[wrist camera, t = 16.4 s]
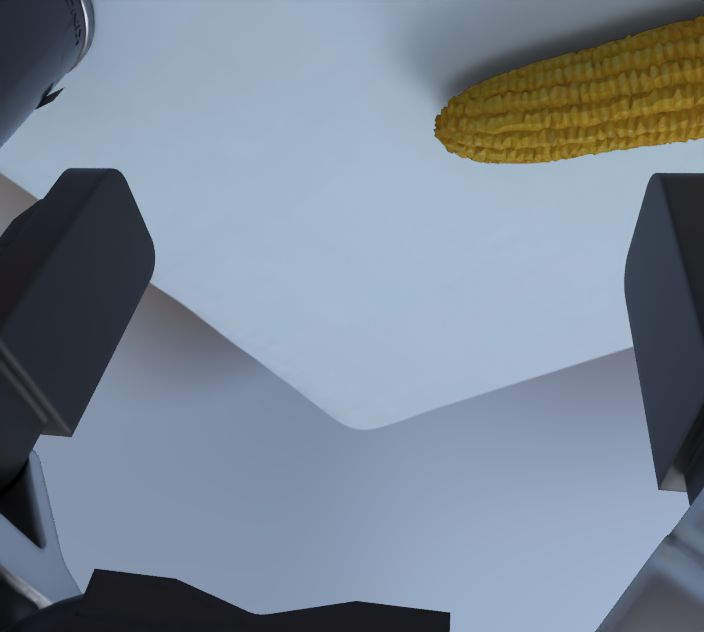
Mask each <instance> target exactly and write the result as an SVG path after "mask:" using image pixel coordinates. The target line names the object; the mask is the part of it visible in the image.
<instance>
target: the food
mask: <svg viewBox="0 0 704 632" xmlns="http://www.w3.org/2000/svg"><path fill="white" fill-rule="evenodd" d="M435 122H436V124H435V126H436V129H434V131H435V133H436V134H435V135H434V136H435V137H436V138H437V139H439V140H440V141H441V143H442V144H443V145H444V146H445V147H446V149H447V151H448V152H450V153H454V152H455V154H457V155H458V156H460V157H461V158H467V157H468V158H469V159H471V160H473V161H477V162H484V163H488V164H489V163H497V164H499V163H540V162H550V161H551V160H553V161H555V162H556V161H558V160H560V159H570V158H575V157H579V156H583V155H586V154H594V155H596V154H599V153H602V152H609V151H613V150H618V149H619V150H628V149H630V148H638V147H640V146H655V145H662V144H666V143H669V144H671V143H672V142H687V140H689V139H692V140H697V139H699V138H704V16H698V17H697V18H696V19H695V20H689V21H682V22H676V23H672V24H669V25H665V26H662V27H658V28H655V29H651V30H648V31H644V32H641V33H639V34H637V35H634V36H630V35H628V36H627V37H626V38H625V39H621V40H614V41H612V42H609V43H606V44H603V45H601V46H599V47H596V48H593V47H592V48H589V49H584V50H580V51H578V52H577V53H572V52H570V53H568V54H565V55H561V56H557V57H554V58H551V59H546V60H542V61H539V62H536V63H533V64H530V65H527V66H524V67H521V68H519V69H516V70H512V71H511V72H510V73H506V72H504V73H503V74H501V75H497V76H494V77H492V78H490V79H489V80H486V81H483V82H480V83H479V84H477V85H475V86H473V87H469V88H468V89H467V90H465V91H464V92H463V93H462V94H461V95H458V96H457V97H455V96H453V97H452V98H451V99H450V100H449V101H448V107H444V109H441V115H437V116H436V118H435Z"/></svg>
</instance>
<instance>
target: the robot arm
mask: <svg viewBox="0 0 704 632" xmlns="http://www.w3.org/2000/svg"><path fill="white" fill-rule="evenodd" d="M93 34H94V13H93V7H92V3H91V0H0V148H1V147H2V146H3V145H4V144H5V143H6V142H7V140H8V139H9V138H10V137H11V136H12V135H13V134H14V132H15V131H16V130H17V129H18V128H19V127H20V126H21V125H22V123H23V122H24V121H25V120H26V119H27V118H28V117H29V115H30V114H31V113H32V112H33V111H34V110H36V109H38V108H40V107H42V106H44V105H46V104H48V103H50V102H52V101H53V100H54V99H55V98H56V97H57V96H58V95H59V93H60V92H61V91H62V90H63V89H64V88H65V87H64V88H62V89H60V90H58V91H56V92H54V93H52V94H50V95H48V94H49V93H50V92H51V91H52V90H53V88H54V87H55V86H56V85H57V84H58V83H59V82H60V80H61V79H62V78H63V77H64V76H65V75H66V74H67V73H68V72H70V71H71V70H72V69H73V68H74V67H75V66H76V65H77V64H78V63H79V62H80V61H81V60H82V58H83V57H84V56H85V55H86V53H87V51H88V50H89V48H90V45H91V42H92V39H93ZM47 95H48V96H47ZM154 266H155V250H154V245H153V241H152V239H151V236H150V234H149V232H148V229H147V227H146V225H145V222H144V220H143V218H142V216H141V213H140V211H139V209H138V206H137V204H136V202H135V199H134V197H133V195H132V192H131V190H130V188H129V186H128V183H127V181H126V179H125V177H124V176H123V174H122V173H121V172H120V171H118V170H117V169H111V168H70V169H67V170H66V171H64V172H63V173H62V174H61V176H60V177H59V178H58V180H57V181H56V182H55V184H54V185H53V186H52V188H51V189H50V191H49V192H48V193H47V195H46V196H45V197H44V199H40V200H39V201H38V202H36V203H35V204H34V205H33V206H31V207H30V208H28V209H27V210H26V211H24V212H23V213H22V214H20V215H19V216H18V217H17V218H15V219H14V220H13V221H12V222H11V224H10V225H9V226H8V228H7V229H6V230H5V232H4V233H3V234H2V235H1V237H0V632H450V613H449V612H441V611H432V610H424V609H415V608H408V607H400V606H392V605H384V604H376V603H367V602H360V601H354V602H347V603H340V604H333V605H327V606H321V607H314V608H307V609H301V610H293V611H287V612H280V613H273V614H265V615H259V614H253V613H250V612H247V611H246V610H243V609H241V608H239V607H237V606H234V605H232V604H230V603H228V602H226V601H224V600H221V599H219V598H217V597H215V596H212V595H210V594H208V593H206V592H204V591H201V590H199V589H197V588H195V587H193V586H191V585H188V584H186V583H184V582H182V581H180V580H177V579H173V578H166V577H157V576H149V575H141V574H133V573H125V572H116V571H109V570H101V569H94V572H93V574H92V577H91V579H90V581H89V584H88V587H87V589H86V591H85V594H82V593H81V591H80V589H79V587H78V585H77V583H76V582H75V580H74V578H73V577H72V575H71V574H70V572H69V570H68V568H67V566H66V564H65V562H64V559H63V556H62V553H61V549H60V544H59V540H58V536H57V531H56V527H55V522H54V518H53V514H52V510H51V505H50V501H49V496H48V492H47V488H46V484H45V479H44V475H43V470H42V466H41V462H40V459H39V456H38V455H37V454H36V452H35V451H34V450H33V447H34V445H35V443H36V441H37V439H38V438H39V436H40V434H43V435H54V436H65V437H72V435H73V433H74V431H75V429H76V427H77V425H78V423H79V421H80V419H81V417H82V415H83V413H84V411H85V409H86V407H87V405H88V403H89V401H90V399H91V397H92V395H93V393H94V391H95V389H96V387H97V385H98V383H99V381H100V379H101V377H102V375H103V373H104V371H105V369H106V367H107V365H108V363H109V361H110V359H111V357H112V355H113V353H114V351H115V349H116V347H117V345H118V343H119V341H120V339H121V337H122V335H123V333H124V331H125V329H126V327H127V325H128V323H129V321H130V319H131V317H132V315H133V313H134V311H135V309H136V307H137V305H138V303H139V301H140V299H141V297H142V295H143V293H144V291H145V289H146V287H147V285H148V283H149V281H150V279H151V277H152V275H153V271H154ZM624 290H625V299H626V305H627V310H628V316H629V322H630V328H631V334H632V339H633V345H634V351H635V356H636V362H637V368H638V374H639V380H640V386H641V391H642V397H643V402H644V409H645V414H646V420H647V425H648V432H649V437H650V443H651V449H652V455H653V461H654V467H655V472H656V478H657V483H658V489H659V490H667V491H678V492H687V494H688V499H689V504H690V507H689V509H688V510H687V511H686V513H685V514H684V515H683V517H682V518H681V520H680V521H679V522H678V524H677V525H676V526H675V528H674V529H673V530H672V532H671V533H670V534H669V535H667V536H666V537H665V538H664V539H663V541H662V542H661V543H660V544H659V546H658V547H657V548H656V550H655V551H654V552H653V554H652V555H651V556H650V558H649V559H648V560H647V562H646V563H645V565H644V566H643V567H642V569H641V570H640V571H639V573H638V574H637V576H636V577H635V578H634V579H633V581H632V582H631V584H630V585H629V586H628V588H627V589H626V590H625V592H624V593H623V594H622V596H621V597H620V599H619V600H618V601H617V603H616V604H615V605H614V607H613V608H612V609H611V611H610V612H609V614H608V615H607V616H606V618H605V619H604V621H603V622H602V623H601V625H600V626H599V628H598V629H597V630H596V631H595V632H704V173H655V174H653V175H652V176H651V178H650V180H649V183H648V185H647V188H646V192H645V195H644V199H643V202H642V206H641V209H640V213H639V216H638V220H637V223H636V227H635V230H634V234H633V237H632V241H631V244H630V248H629V251H628V255H627V260H626V266H625V277H624Z"/></svg>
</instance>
